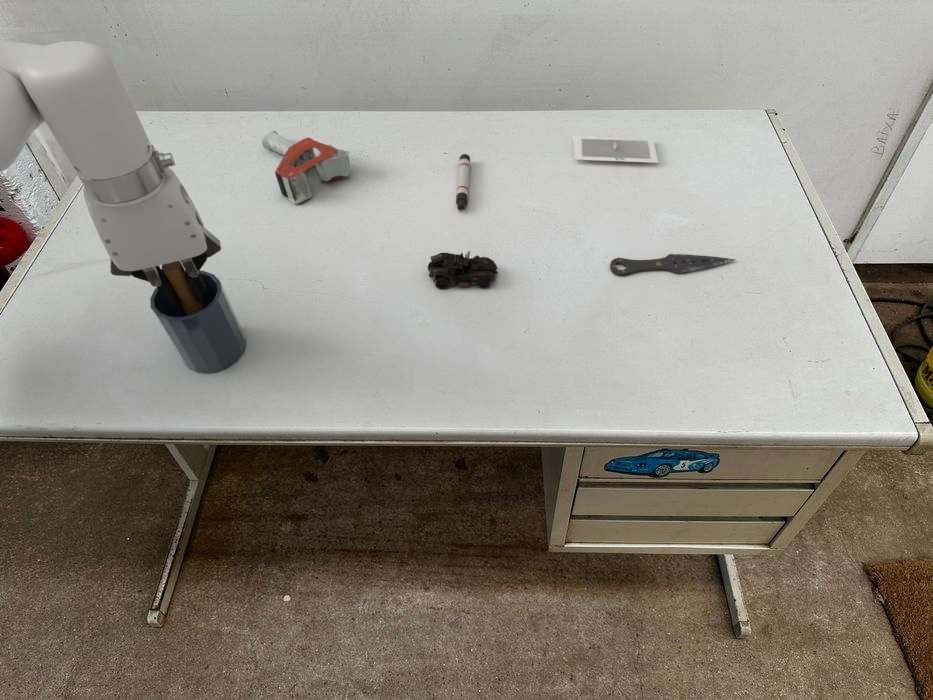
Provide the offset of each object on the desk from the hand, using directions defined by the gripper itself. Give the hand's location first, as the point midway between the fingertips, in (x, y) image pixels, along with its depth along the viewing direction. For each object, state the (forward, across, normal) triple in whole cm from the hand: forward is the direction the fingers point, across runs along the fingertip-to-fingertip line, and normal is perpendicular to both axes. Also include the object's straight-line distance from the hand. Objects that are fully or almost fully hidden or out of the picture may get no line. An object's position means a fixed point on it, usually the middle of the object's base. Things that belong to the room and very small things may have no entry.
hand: (187, 296), depth 77 cm
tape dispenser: (+11, -20, -37) cm, 43 cm away
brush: (+10, 0, 0) cm, 10 cm away
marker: (+11, -45, -22) cm, 51 cm away
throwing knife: (+11, -69, +8) cm, 70 cm away
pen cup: (+11, 0, 0) cm, 11 cm away
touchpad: (+11, -75, -22) cm, 79 cm away
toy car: (+11, -38, -1) cm, 39 cm away
